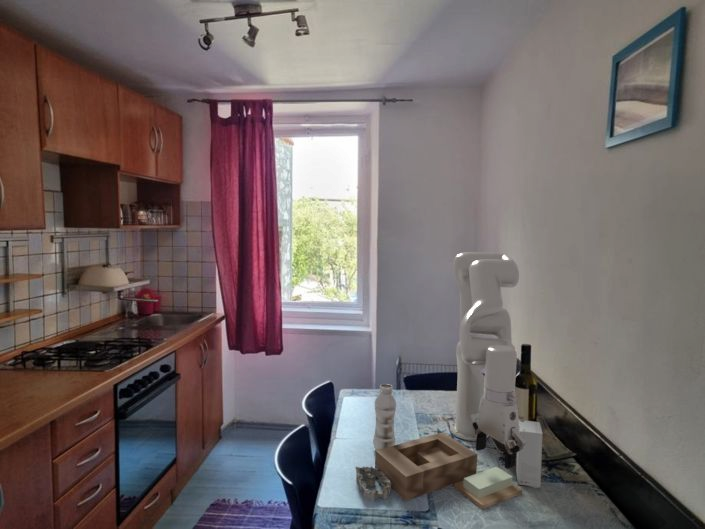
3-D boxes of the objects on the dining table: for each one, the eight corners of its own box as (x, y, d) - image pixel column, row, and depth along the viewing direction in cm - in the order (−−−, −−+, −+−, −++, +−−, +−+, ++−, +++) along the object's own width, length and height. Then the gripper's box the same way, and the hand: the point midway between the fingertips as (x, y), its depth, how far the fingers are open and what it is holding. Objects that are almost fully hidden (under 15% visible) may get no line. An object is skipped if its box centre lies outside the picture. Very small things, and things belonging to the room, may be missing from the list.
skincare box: (540, 489, 115) (544, 434, 114) (516, 484, 117) (519, 431, 116) (537, 472, 123) (541, 421, 122) (514, 468, 125) (517, 417, 124)
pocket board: (442, 452, 132) (443, 432, 132) (476, 476, 120) (477, 454, 120) (374, 472, 121) (375, 450, 120) (404, 501, 109) (406, 476, 108)
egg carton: (392, 500, 109) (393, 484, 109) (363, 503, 108) (363, 487, 107) (380, 476, 120) (381, 461, 119) (353, 478, 118) (354, 464, 118)
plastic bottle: (393, 457, 129) (396, 391, 127) (371, 454, 130) (373, 388, 129) (396, 446, 135) (398, 383, 134) (374, 443, 137) (376, 381, 135)
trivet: (492, 473, 122) (492, 470, 122) (521, 493, 113) (522, 489, 113) (453, 487, 115) (454, 483, 115) (482, 509, 106) (482, 505, 106)
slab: (496, 474, 120) (496, 466, 119) (512, 485, 115) (512, 476, 115) (463, 486, 114) (463, 478, 113) (478, 498, 109) (479, 489, 109)
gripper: (537, 404, 107) (532, 470, 109) (484, 381, 122) (480, 440, 124) (516, 409, 103) (511, 478, 105) (463, 385, 118) (460, 446, 120)
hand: (494, 457), depth 114 cm, fingers open, 9 cm apart
